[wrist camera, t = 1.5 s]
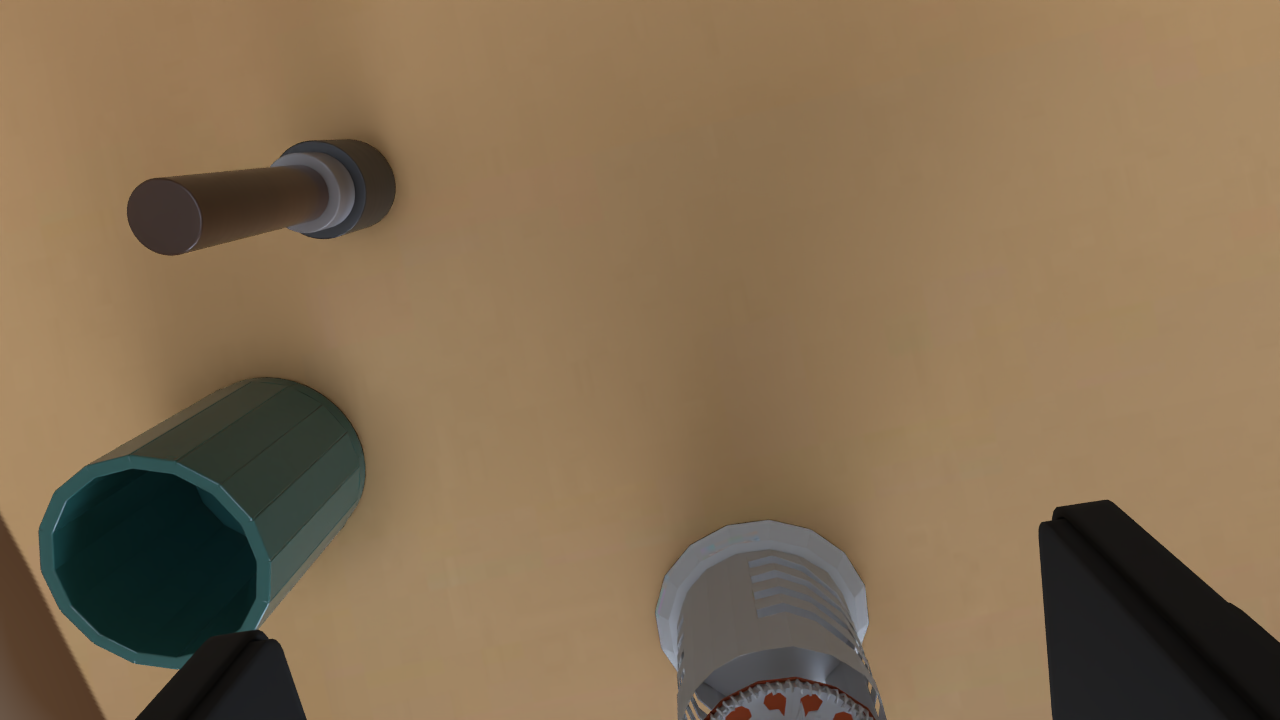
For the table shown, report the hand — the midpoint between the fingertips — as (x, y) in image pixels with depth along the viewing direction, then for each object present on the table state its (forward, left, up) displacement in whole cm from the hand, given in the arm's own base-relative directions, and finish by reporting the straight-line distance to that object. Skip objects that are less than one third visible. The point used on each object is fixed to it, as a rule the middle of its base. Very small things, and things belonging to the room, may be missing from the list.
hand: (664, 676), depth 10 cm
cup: (-4, -19, -27) cm, 33 cm away
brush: (-11, -8, -27) cm, 30 cm away
